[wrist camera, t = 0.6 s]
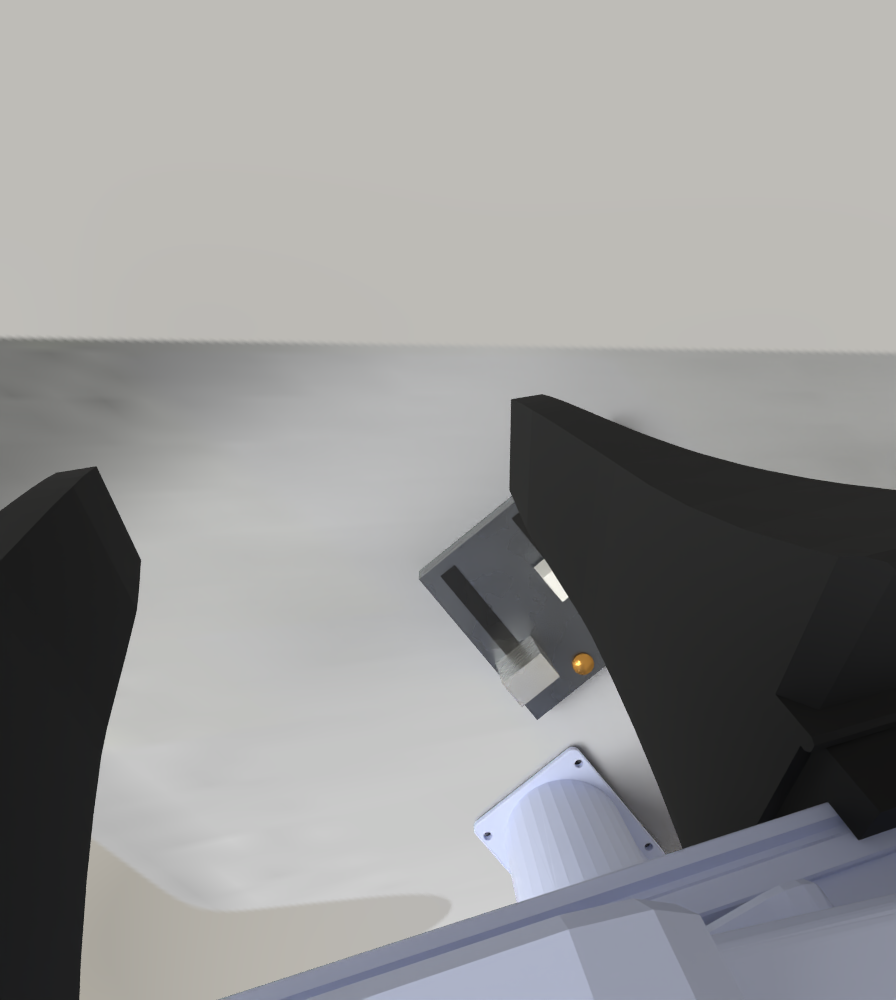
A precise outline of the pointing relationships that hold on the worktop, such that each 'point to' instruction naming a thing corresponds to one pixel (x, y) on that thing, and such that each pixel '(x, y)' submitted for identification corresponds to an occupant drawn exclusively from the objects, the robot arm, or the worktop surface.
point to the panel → (513, 611)
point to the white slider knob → (550, 579)
